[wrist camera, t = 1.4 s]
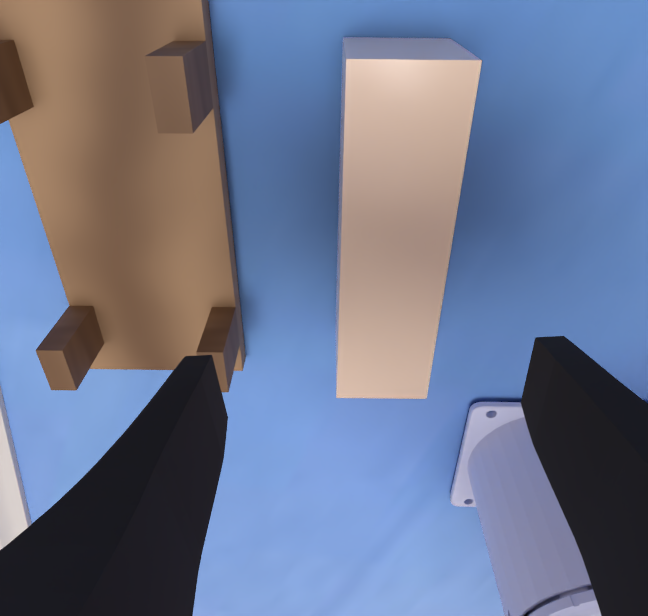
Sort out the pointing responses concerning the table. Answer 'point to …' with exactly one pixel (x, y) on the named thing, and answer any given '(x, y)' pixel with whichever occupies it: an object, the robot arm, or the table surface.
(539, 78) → the table surface
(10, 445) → the baseboard molding
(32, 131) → the rack
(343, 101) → the beige rectangular block
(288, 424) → the table surface
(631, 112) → the table surface
